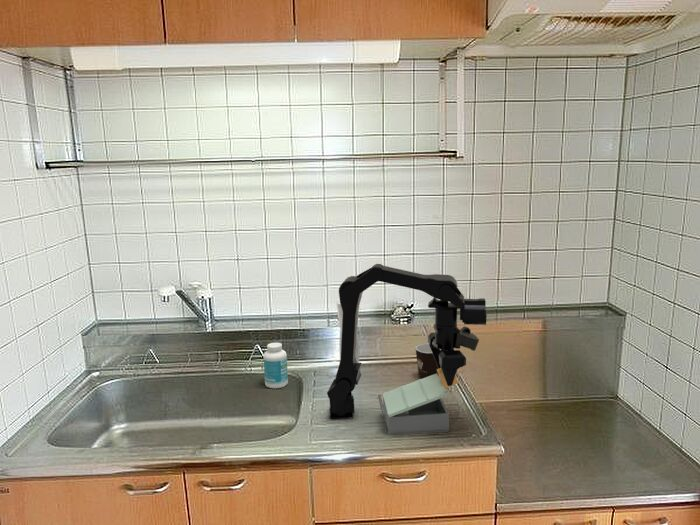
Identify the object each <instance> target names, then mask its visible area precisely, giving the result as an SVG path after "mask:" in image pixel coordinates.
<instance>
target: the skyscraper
mask: <svg viewBox="0 0 700 525" xmlns="http://www.w3.org/2000/svg"><path fill="white" fill-rule="evenodd" d="M360 305H361V304H359V306H360ZM336 309H337V319H338V325H339V330H340V332H339V361H340V360H341V341H342V319H343V311H342V307H341V304H340V298H339V297H338V299H337V301H336ZM359 314H360V307H359V308H358V315H357V322H358V321H359ZM355 358H356V361H357V363H360V340H359V334H358V333H357V334H356V353H355Z"/></svg>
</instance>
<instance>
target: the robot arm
mask: <svg viewBox="0 0 700 525" xmlns="http://www.w3.org/2000/svg"><path fill="white" fill-rule="evenodd" d="M377 282H381V283H386V284H390V285H394V286H398V287H403V288H407V289H408V288H409V289H413V290H417V291H421V292H424V293H425V294H427V295H428V296H430V297H432V299H431V300H430V301H428V305H427V307H428V308H429V309H435V310H434V324H433V329H434V331H433V332H429V334H428V335H427V344H429V346H430V349H431V351H432V353H433V356H434V358H435V361H436V363H437V366H438V368H441V369H442V372H443V375H444V377H445V380H446V383H447V385H448V386H450V387H452V386H453V385H452V384H453V381H454V378H455V375H456V374H457V372H458V370H459V369H460V368H463V367H465V366H467V358H466V356H465V355H464V353H463V352H462V351H461V350H460V349H461V347H462V348H465V349H469V350H471V351H472V352H473V351H476V349H477V346H478V344H479V343H480V342H479V341H480V339H479V337H477V335H475V334H474V333H473V332H472V333H471V329H470V328H469V326H464V325H475V326H476V325H478V326H479V325H480V326H486V325H487V316H488V314H487V310H486V309H487V307H486V303H487V301H486V298H465V296H464V294H463V293H462V292H461V290H460V289H459V288H458V282H457V280H456V278H455V277H454V276H452V275H449V274H437V273H436V274H435V273H434V274H422V273H418V272H414V271H409V270H405V269H399V268H395V267H390V266H388V265H383V264H380V263H376V264H374V265H372V266H371V267H370V268H368V269H366V270H364V271H362V272H361V273H359V274H357V275H355V276H354V275H353V276H352V275H350V276H348V277H346V278H345V280H343V282H342V283H341V284H340V286H339V288H338V296H339V297H338V299H339V298H340V299H339V303H340V304H341V307H342V311H343V319H342V341H341V360H340V359H339V364H338V368H337V371H336V374H335V378H334V379H333V381H331V384H330V386H329V388H328V390H327V392H326V395H327V396H328V400H329V419H331V420H338V419H339V420H340V419H353V418H354V414H355V398H354V395H353V394H352V392H353V391H354V390H355V388H356V385H357V386H358V385H359V381H360V379H361V377H362V373H361V369H362V368H361V367H362V362H359V363H357V361H356V358H355V353H356V334H358V321H357V315H358V316H359V314H358V308H359V309H360V305H361V304H360V303H361V300H362V296H363V293H364V291H367V290H368V289H369V288H370V287H372V286H373V285H374V284H375V283H377ZM359 304H360V305H359ZM458 309H459V321H461V322H462V323H463V327H462V328H461V329H459V327H458ZM458 349H459V350H458Z"/></svg>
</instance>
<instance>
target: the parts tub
mask: <svg viewBox="0 0 700 525" xmlns="http://www.w3.org/2000/svg"><path fill="white" fill-rule="evenodd" d="M377 399H378V401H379V406H380V410H381V414H382V416H383V418H384V422H385V425H386V429H387V433H388V435H389V436H393V435H394V436H395V435H396V436H397V435H409V434H411V435H412V434H429V433H447V432H450V413H449V410H448V409H447V407H446V405H445V403H444V400H443V398H440V399H438V400H435V401H432V402H429V403H427V404H424V405H421V406H419V407H416V408H413V409H411V410H408V411H405V412H403V413H400V414H397V415H395V416H392V417H389V416H388V413H387V409H386V405H385V401H384V397H382V396H381V394H378V395H377Z"/></svg>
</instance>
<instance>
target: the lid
mask: <svg viewBox="0 0 700 525" xmlns="http://www.w3.org/2000/svg"><path fill="white" fill-rule="evenodd" d="M437 372H438V374H437V373H436V374H433V375H431V376H428V377H425V378H423V379H420V378H419V379H417V380H416V381H412V382H410V383H407V384H405V385H400V386H399V387H396V388H394V389H391V390H389V391H386V392H382V396H383V397H384V401H385V405H386V409H387V413H388V416H389V417H392V416H395V415H397V414H400V413H403V412H405V411H408V410H411V409H413V408H416V407H419V406H421V405H424V404H427V403H429V402H432V401H435V400H438V399H440V398H441V399H443V398H445V397H448V396H449V394H448V391H447V388H450V387H451V386H448V385H447V383H446V380H445V377H444V375H443V372H442V369H441V368H439V369H437ZM438 375H439V376H438ZM457 384H459V381H458V378H457V375H456V374H455V378H454V381H453V384H452V386H455V385H457ZM383 397H382V398H383Z"/></svg>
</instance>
